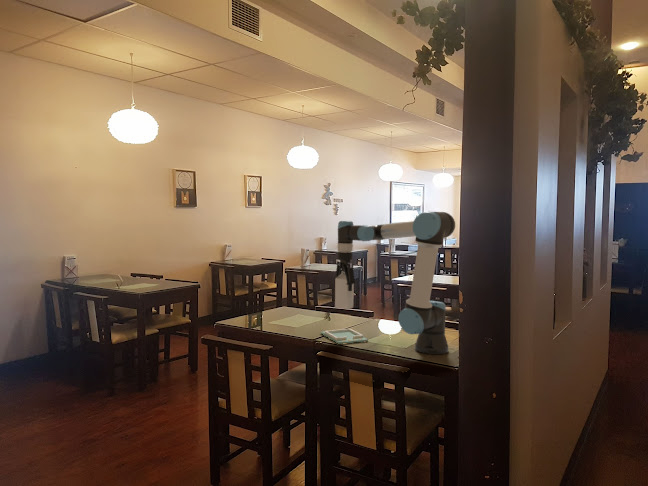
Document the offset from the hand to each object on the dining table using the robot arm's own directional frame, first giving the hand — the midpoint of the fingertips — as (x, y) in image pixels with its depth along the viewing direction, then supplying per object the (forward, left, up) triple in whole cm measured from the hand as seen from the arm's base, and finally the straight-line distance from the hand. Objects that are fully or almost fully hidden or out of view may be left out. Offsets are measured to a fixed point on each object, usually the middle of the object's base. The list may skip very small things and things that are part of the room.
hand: (344, 295), depth 235 cm
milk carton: (0, 0, -6) cm, 6 cm away
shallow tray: (0, 0, -22) cm, 22 cm away
